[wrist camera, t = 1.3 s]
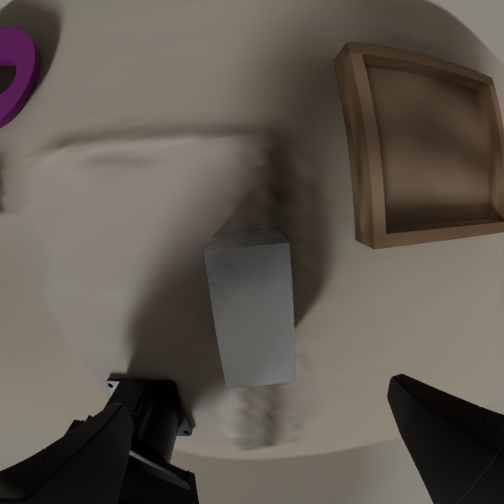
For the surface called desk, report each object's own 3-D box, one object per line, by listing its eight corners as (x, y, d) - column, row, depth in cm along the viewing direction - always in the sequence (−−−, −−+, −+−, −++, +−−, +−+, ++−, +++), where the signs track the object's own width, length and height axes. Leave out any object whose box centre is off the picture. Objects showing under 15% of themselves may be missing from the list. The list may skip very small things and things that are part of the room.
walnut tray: (486, 225, 18) (509, 231, 15) (355, 240, 18) (374, 249, 15) (470, 85, 16) (491, 77, 13) (333, 60, 16) (346, 41, 13)
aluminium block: (285, 339, 20) (296, 381, 15) (230, 344, 20) (226, 387, 15) (277, 228, 18) (289, 242, 13) (214, 234, 18) (203, 251, 13)
